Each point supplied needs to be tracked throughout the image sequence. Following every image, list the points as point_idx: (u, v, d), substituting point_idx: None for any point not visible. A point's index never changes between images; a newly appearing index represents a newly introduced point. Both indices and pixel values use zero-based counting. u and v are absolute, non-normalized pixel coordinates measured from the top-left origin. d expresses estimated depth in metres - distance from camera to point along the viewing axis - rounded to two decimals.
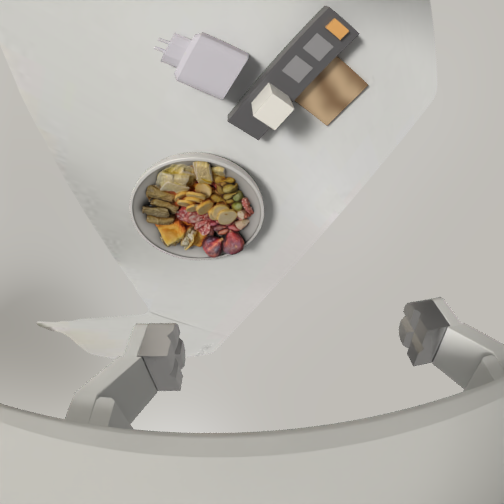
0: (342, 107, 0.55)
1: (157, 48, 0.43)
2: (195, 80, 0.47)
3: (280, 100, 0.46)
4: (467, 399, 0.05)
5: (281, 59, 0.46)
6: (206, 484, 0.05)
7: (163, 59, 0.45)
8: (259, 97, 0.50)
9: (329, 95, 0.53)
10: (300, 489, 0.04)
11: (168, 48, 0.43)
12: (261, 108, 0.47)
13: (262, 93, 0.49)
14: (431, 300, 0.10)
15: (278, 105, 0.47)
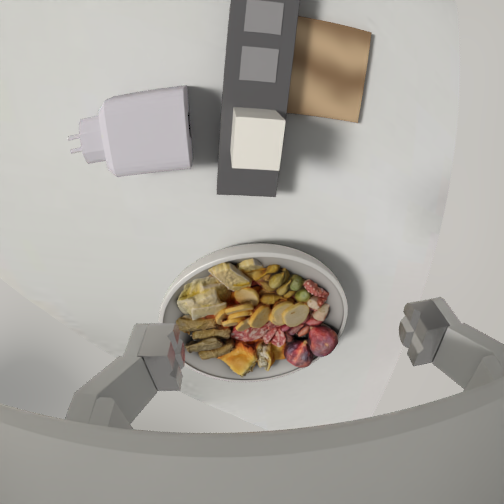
0: (360, 84, 0.33)
1: (74, 150, 0.32)
2: (137, 162, 0.33)
3: (255, 120, 0.27)
4: (467, 398, 0.05)
5: (227, 64, 0.29)
6: (206, 484, 0.05)
7: (88, 159, 0.33)
8: None
9: (332, 77, 0.32)
10: (300, 489, 0.04)
11: (82, 142, 0.31)
12: (236, 149, 0.28)
13: (232, 127, 0.31)
14: (431, 300, 0.10)
15: (257, 129, 0.27)
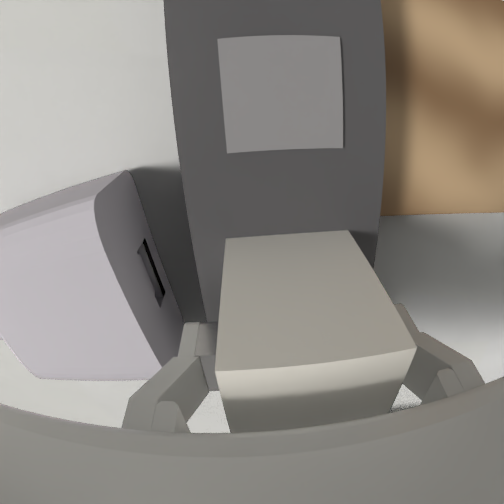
0: None
1: None
2: (61, 369, 0.13)
3: (298, 370, 0.06)
4: (467, 398, 0.05)
5: (180, 109, 0.09)
6: (206, 484, 0.05)
7: None
8: None
9: (466, 112, 0.11)
10: (301, 489, 0.04)
11: None
12: None
13: None
14: None
15: (310, 392, 0.07)
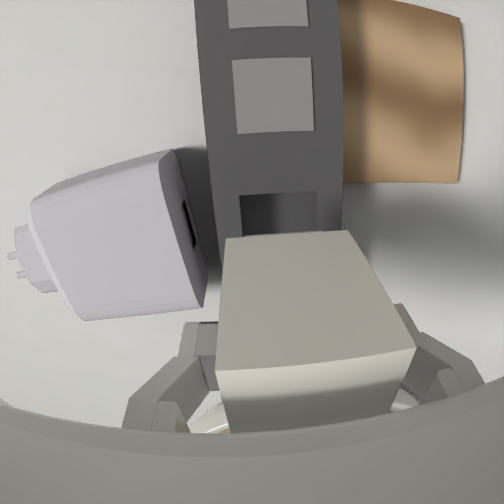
0: (458, 113, 0.16)
1: (20, 274, 0.20)
2: (108, 304, 0.18)
3: (298, 370, 0.06)
4: (467, 398, 0.05)
5: (207, 105, 0.14)
6: (206, 484, 0.05)
7: (41, 289, 0.20)
8: None
9: (414, 105, 0.16)
10: (300, 489, 0.04)
11: (24, 267, 0.18)
12: None
13: None
14: None
15: (310, 392, 0.07)
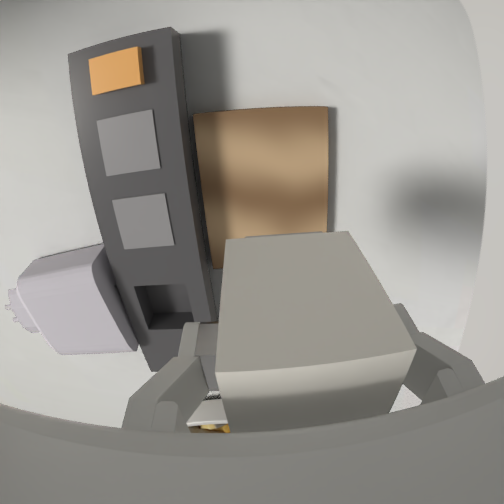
0: (321, 202, 0.23)
1: (15, 320, 0.26)
2: (75, 347, 0.25)
3: (298, 372, 0.06)
4: (467, 398, 0.05)
5: (102, 230, 0.21)
6: (206, 484, 0.05)
7: (31, 331, 0.27)
8: None
9: (272, 203, 0.23)
10: (300, 489, 0.04)
11: (18, 317, 0.25)
12: None
13: None
14: None
15: (310, 394, 0.07)
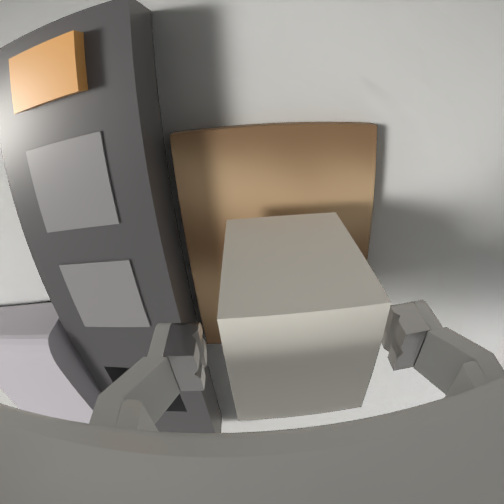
0: None
1: None
2: (44, 414, 0.18)
3: (288, 319, 0.08)
4: (467, 398, 0.05)
5: (54, 301, 0.14)
6: (206, 484, 0.05)
7: None
8: None
9: None
10: (300, 489, 0.04)
11: None
12: (242, 391, 0.09)
13: None
14: (412, 303, 0.10)
15: (299, 343, 0.08)
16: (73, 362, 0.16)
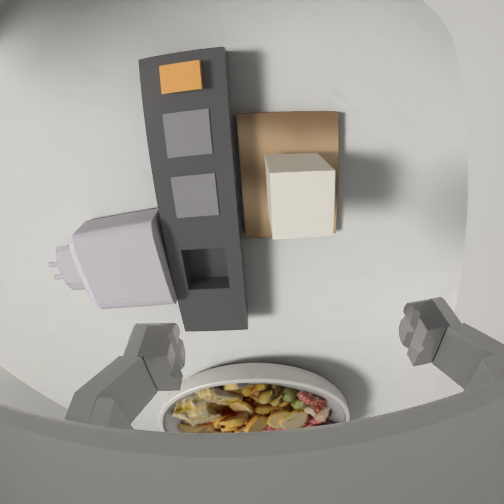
0: None
1: (57, 277, 0.32)
2: (118, 299, 0.31)
3: (295, 174, 0.21)
4: (467, 398, 0.05)
5: (159, 202, 0.27)
6: (206, 484, 0.05)
7: (72, 287, 0.32)
8: None
9: None
10: (300, 489, 0.04)
11: (62, 273, 0.31)
12: (276, 216, 0.22)
13: (267, 182, 0.26)
14: (431, 300, 0.10)
15: (300, 186, 0.21)
16: (160, 244, 0.29)
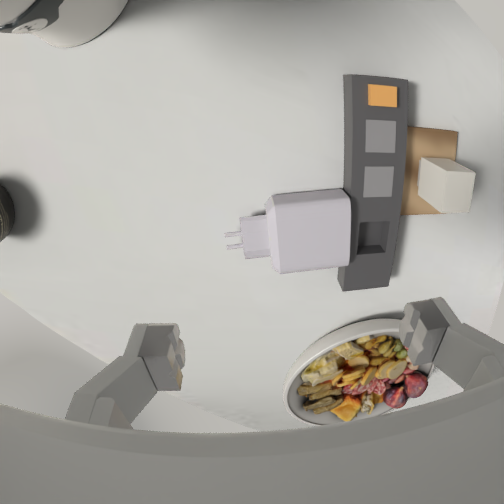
0: None
1: (231, 247, 0.40)
2: (303, 263, 0.38)
3: (458, 173, 0.29)
4: (467, 398, 0.05)
5: (353, 184, 0.35)
6: (206, 484, 0.05)
7: (247, 256, 0.40)
8: (426, 183, 0.34)
9: None
10: (300, 489, 0.04)
11: (245, 241, 0.38)
12: (445, 198, 0.30)
13: (426, 176, 0.34)
14: (431, 300, 0.10)
15: (459, 180, 0.29)
16: None
